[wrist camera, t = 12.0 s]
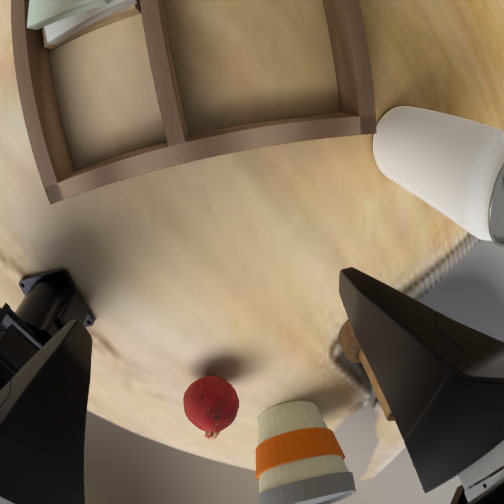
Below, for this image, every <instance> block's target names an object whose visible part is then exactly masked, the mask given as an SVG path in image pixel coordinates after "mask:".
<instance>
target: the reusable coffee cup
mask: <svg viewBox="0 0 504 504" xmlns="http://www.w3.org/2000/svg"><path fill="white" fill-rule="evenodd" d="M258 434H259V445H258V447H257V448H256V478H257V479H258V480H259V483H260V484H259V485H260V494H258V496H257V497H258V500H259V504H331V503H334V502H336V501H339V500H342V499H344V498H347V497H349V496H350V495H352V494H354V493H355V492H356V490H355V484H354V479H353V474H352V473H351V472H349V471H348V469H347V467H346V465H345V463H344V461H343V460H344V458H345V456H344V454H343V451H342V449H341V448H340V446H339V443H338V441H337V439H336V438H335V435H334V433H333V431H331V430H330V429H328V428H327V426H326V424H325V422H324V420H323V418H322V416H321V414H320V412H319V410H318V408H317V406H316V405H315V404H314V403H312V402H309V401H291V402H286V403H282V404H279V405H276V406H273V407H271V408H269V409H267V410H266V411H264V412H263V413H262V414H261V415H260V416H259V419H258Z"/></svg>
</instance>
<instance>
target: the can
mask: <svg viewBox="0 0 504 504" xmlns="http://www.w3.org/2000/svg"><path fill="white" fill-rule="evenodd" d="M376 130H377V133H376V134H374V137H373V154H374V158H375V161H376V164H377V166H378V167H379V169H380V171H381V172H382V173H383V174H384V175H385V176H386V177H388V178H389V179H390V180H392V181H394V182H395V183H397V184H398V185H400V186H402V187H403V188H405V189H406V190H408V191H409V192H411V193H413V194H414V195H416V196H417V197H419V198H420V199H422V200H423V201H425V202H426V203H428V204H429V205H431V206H432V207H434V208H435V209H437V210H438V211H440V212H441V213H442V214H444V215H445V216H447V217H448V218H450V219H451V220H452V221H454V222H455V223H457V224H458V225H459V226H461V227H462V228H463V229H465V230H466V231H468V232H469V233H470V234H472V235H473V236H475V237H477V238H479V239H482V240H488V241H493V242H494V243H495V244H496V245H498V246H501V247H504V131H503V130H501V129H498V128H495V127H492V126H489V125H486V124H483V123H479V122H476V121H473V120H469V119H465V118H462V117H458V116H454V115H450V114H446V113H441V112H437V111H432V110H427V109H422V108H417V107H411V106H399V107H395V108H393V109H391V110H389V111H388V112H387V113H386V114H385V115H384V116H383V117H382V118H381V119H380V121H379V123H378V124H377V127H376Z"/></svg>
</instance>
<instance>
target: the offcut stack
mask: <svg viewBox="0 0 504 504" xmlns="http://www.w3.org/2000/svg"><path fill="white" fill-rule="evenodd" d="M139 13H140V7H139V1H138V0H30V1H29V9H28V20H27V28H31V29H35V30H38V29H40V28H43V39H44V47H45V48H49V49H55V48H57V47H59V46H61V45H63V44H65V43H67V42H69V41H71V40H73V39H75V38H77V37H79V36H82V35H84V34H86V33H88V32H91V31H93V30H95V29H98V28H100V27H103V26H105V25H108V24H110V23H113V22H116V21H118V20H121V19H124V18H127V17H130V16H133V15H136V14H139Z"/></svg>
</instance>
